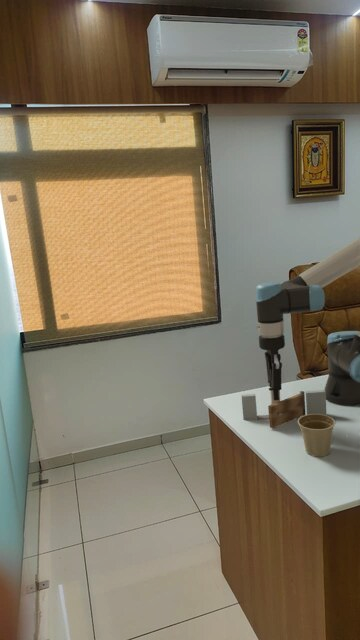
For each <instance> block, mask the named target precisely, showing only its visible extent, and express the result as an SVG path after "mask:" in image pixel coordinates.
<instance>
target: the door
mask: <svg viewBox="0 0 360 640" xmlns="http://www.w3.org/2000/svg"><path fill="white" fill-rule="evenodd" d="M267 406H268V415H269V419H268V423H269V428H270V429H275V428H277V427H280V426H282V425H284V424H287V423H289V422H291V421H294V420H296V419H299V417H302V416H304V415H307V413H306V393H305V391H303V390H301V391H299V393H298V394H295V395H293V396H290V397H288V398H284V399H282V400H280V401H279V402H277V403H274V404H272V405H271V404H269V405H267Z"/></svg>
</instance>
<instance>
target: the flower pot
mask: <svg viewBox="0 0 360 640" xmlns="http://www.w3.org/2000/svg"><path fill="white" fill-rule="evenodd" d="M297 424H298V426H299V428H300V430H301V434H302V439H303V443H304V448H305V452H306V454H308V455H311V456H313V457H326V456H327V455H328V454H330V452H331V444H332V434H333V430H334V427H335V425H336V420H335V419H334V418H333V417H331V416H329V415H328V414H327V415H323V414H308V415H307V414H306V415H304V416H301V417H300V418H297Z"/></svg>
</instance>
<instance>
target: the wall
mask: <svg viewBox="0 0 360 640" xmlns="http://www.w3.org/2000/svg"><path fill="white" fill-rule="evenodd" d="M241 405H242V407H241V408H242V417H243V420H247V421H248V420H257V421H258V420H269V414H263V415H258V411H257V399H256V394H255V393H251V394H250V393H247V394H244V393H243V394H241ZM305 411H306V415H308V414H323V415H327V416H328V414H327V400H326V392H325V390H324V389H320V390H306V391H305ZM299 418H300V417H299ZM299 418H298V419H299Z"/></svg>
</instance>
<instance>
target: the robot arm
mask: <svg viewBox="0 0 360 640" xmlns="http://www.w3.org/2000/svg"><path fill="white" fill-rule="evenodd" d="M359 266H360V237H359V238H357V239H355V240H354V241H351V242H350V243H349V244H347V245H346V246H344V247H342V248H340V249H339V250H337V251H336V252H334V253H332V254H331V255H329V256H328V257H325V258H324V259H323V260H321V261H319V262H318V263H316V264H315V265H313V266H311V267H309V268H308V269H306V270H304V271H303V272H301V273H300V274H298V275H297V276H295V277H293V278H291V279H290V280H285V281H282V282H264V283H263V282H262V283H260V284H258V285H256V288H255V302H256V303H255V304H256V315H257V317H256V318H257V325H256V326H255V327H256V329H257V330H258V335H259V336H258V344H259V345H258V346H259V348H260V349H261V350H264V358H265V365H266V373H267V376H266V377H267V383H268V384H269V387H268V390H269V395H270V405H272V404H274V403H277V402H279V401H281V391H282V367H283V362H282V361H281V360H282V357H281V354H280V353H279V350H282V349H284V348H285V346H286V344H285V343H286V341H285V340H286V339H285V335H284V334H285V321H284V315H287V314H295V313H297V314H298V313H304V312H305V313H307V312H311V313H312V312H316V311H321V310H322V309H323V308H324V306H325V303H326V302H325V301H326V300H325V299H326V298H325V291H324V289H323V288H325V287H326V286H327V285H330V284H331V283H332V282H334V281H336V280H338V279H339V278H341V277H343V276H344V275H346V274H347V273H349V272H351V271H352V270H354V269H356V268H357V267H359ZM326 345H327V359H328V360H327V363H328V365H327V366H328V377H327V379H326V383H325V386H324V389H323V390H325V392H326V401H328V402H329V403H333V404H336V405H340V406H360V330H347V331H346V330H345V331H337V332H336V331H335V332H332V333H330V334H328V335H327V342H326Z"/></svg>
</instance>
